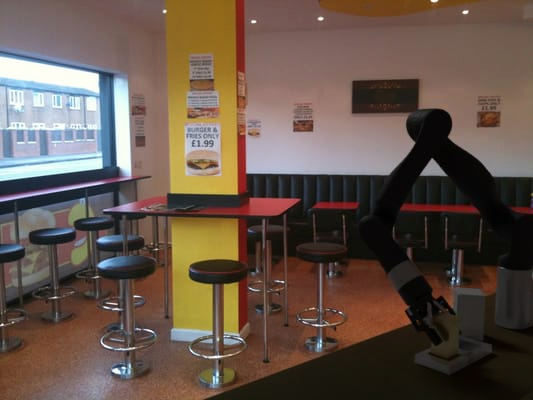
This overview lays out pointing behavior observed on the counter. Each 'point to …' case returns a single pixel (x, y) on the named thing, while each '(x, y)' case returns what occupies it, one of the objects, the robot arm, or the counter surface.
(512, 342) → the counter surface
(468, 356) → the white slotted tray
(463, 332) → the supplement box
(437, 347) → the brown square post
